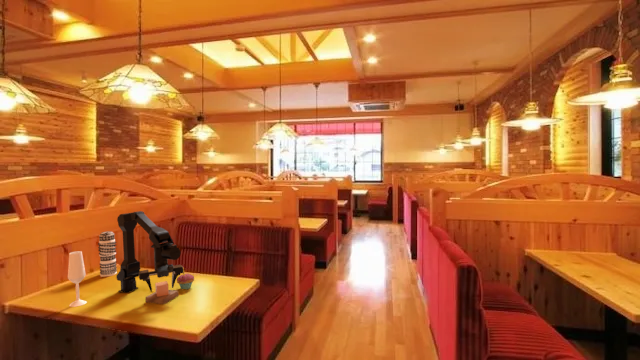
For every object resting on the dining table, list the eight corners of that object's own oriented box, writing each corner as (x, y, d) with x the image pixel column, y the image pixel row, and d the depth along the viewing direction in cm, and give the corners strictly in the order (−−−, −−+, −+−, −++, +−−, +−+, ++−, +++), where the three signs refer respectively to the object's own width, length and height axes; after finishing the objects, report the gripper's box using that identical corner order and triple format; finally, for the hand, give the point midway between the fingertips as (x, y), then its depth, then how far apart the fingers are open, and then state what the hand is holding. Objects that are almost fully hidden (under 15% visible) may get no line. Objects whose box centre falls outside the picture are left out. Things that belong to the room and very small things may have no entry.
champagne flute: (76, 300, 159) (74, 250, 158) (90, 300, 159) (88, 250, 158) (65, 306, 152) (62, 254, 151) (79, 306, 152) (77, 254, 151)
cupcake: (188, 291, 169) (187, 268, 168) (173, 290, 171) (172, 267, 170) (197, 285, 177) (197, 263, 177) (183, 284, 179) (182, 262, 178)
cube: (156, 296, 156) (156, 286, 156) (155, 293, 160) (155, 283, 160) (168, 294, 159) (168, 284, 159) (167, 291, 163) (166, 281, 163)
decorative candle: (103, 277, 191) (102, 234, 190) (96, 275, 196) (94, 232, 195) (120, 273, 199) (118, 231, 198) (112, 270, 204) (111, 230, 203)
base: (145, 302, 156) (145, 297, 156) (160, 294, 166) (160, 289, 166) (164, 304, 154) (164, 298, 154) (178, 295, 163) (178, 290, 163)
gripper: (139, 264, 147) (141, 299, 148) (184, 258, 157) (185, 291, 158) (138, 258, 157) (139, 291, 157) (180, 253, 166) (181, 283, 167)
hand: (162, 289), depth 160 cm, fingers open, 9 cm apart
